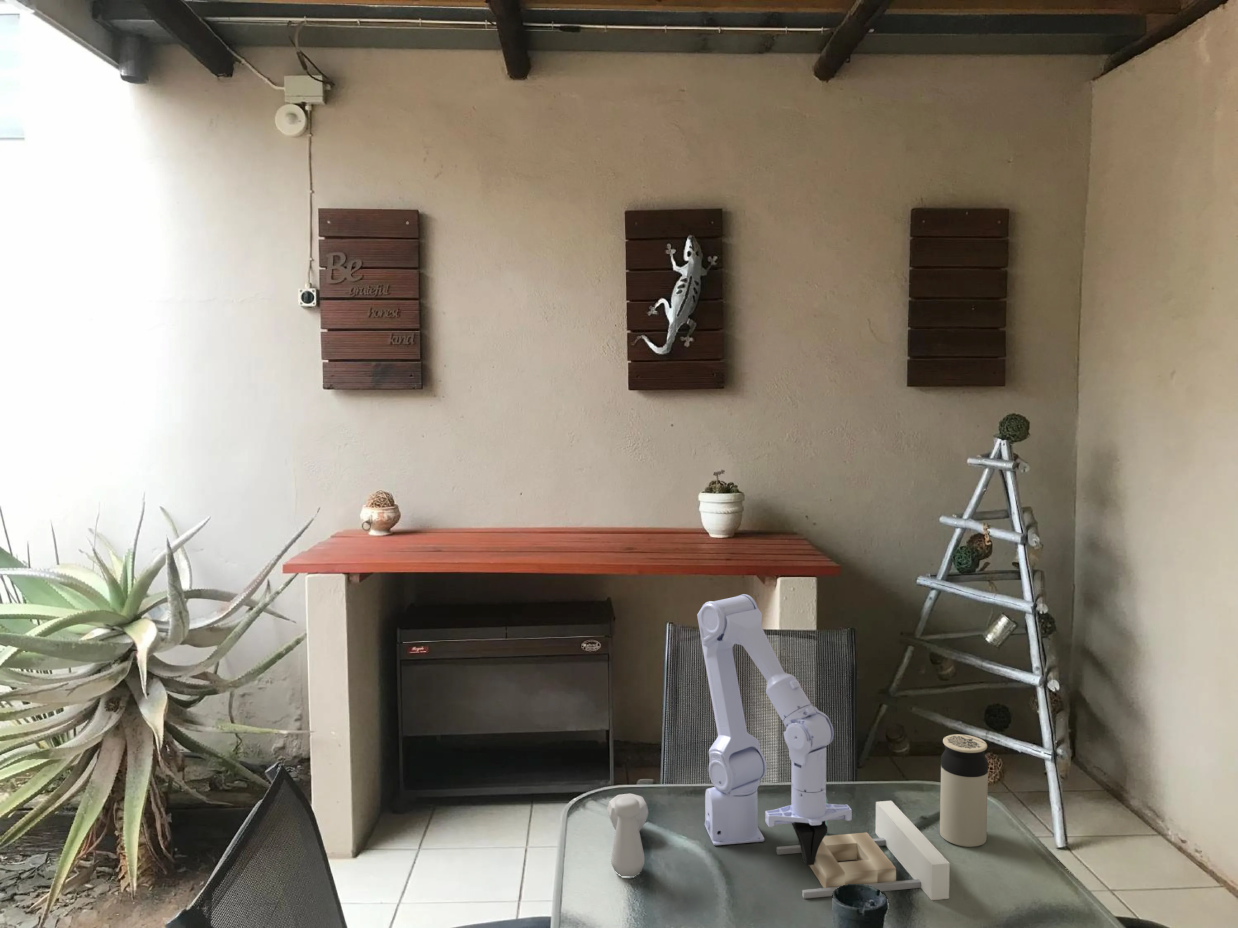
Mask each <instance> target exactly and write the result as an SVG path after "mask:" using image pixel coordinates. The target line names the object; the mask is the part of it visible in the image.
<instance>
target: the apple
mask: <svg viewBox="0 0 1238 928" xmlns="http://www.w3.org/2000/svg"><path fill="white" fill-rule="evenodd" d="M627 796H628V797H633V798H636V799H637V800H638V801H639V805H640V810H639V814H638V815H637V816H636V817H637V823H638V828H639V832H640V831H641V830H642V829H643V827H644V826H645V824H646V821H647V819H648V816H649V809H648V804H647V802H646V800H645V799H644V797H643V796H642V795H638V794H634V793H624V794H623V793H621V794H616V796H614V797H613V798H612V799H611V800H609V801H608V805H607V807H606V810H607V813H608V816H609V819H610V823H611V824H612V827H613V828H614V830H615V831H616V826H617V820H618V816H617V815H616V813H615V802H616V801H617V800H618V799H619V798H621V797H627Z"/></svg>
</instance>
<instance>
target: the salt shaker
mask: <svg viewBox="0 0 1238 928" xmlns="http://www.w3.org/2000/svg"><path fill="white" fill-rule="evenodd" d="M639 810H640V805H639V801H638V800H637V799H636V798H633V797H628V796H627V797H621V798H619V799H618V800H617V801H616V802H615V813H616V815H617V816H618V820H617V826H616V830H615V833H614V841H613V845H612V852H611V858H610V863H611V865H612V868H613V870H614V872H615V871H616V872H617V873H618V874H620V875H621V876H635V875H637V874H638V873H640V872H641V873H642V871H643V868H644V865H645V860H646V859H645V853H644V849H643V843H642V838H641V834H640V833H641V832H640V831H639V828H638V823H637V817H636V816H637V815H638V814H639ZM641 873H640V874H641Z"/></svg>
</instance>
